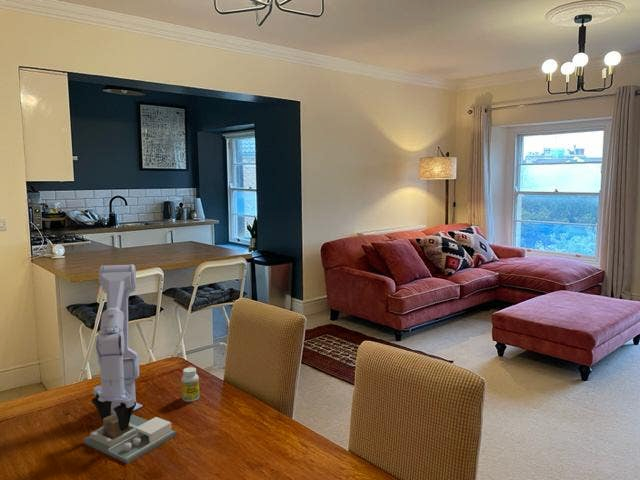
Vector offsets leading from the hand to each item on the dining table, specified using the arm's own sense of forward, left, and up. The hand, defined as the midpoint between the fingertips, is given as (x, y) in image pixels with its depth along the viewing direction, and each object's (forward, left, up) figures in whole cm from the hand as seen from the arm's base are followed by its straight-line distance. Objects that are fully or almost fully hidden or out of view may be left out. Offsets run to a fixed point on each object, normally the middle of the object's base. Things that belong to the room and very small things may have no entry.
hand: (115, 425), depth 136 cm
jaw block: (0, 0, -4) cm, 4 cm away
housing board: (+4, +2, -4) cm, 6 cm away
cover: (+9, +5, -3) cm, 11 cm away
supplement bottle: (0, +28, -4) cm, 28 cm away
